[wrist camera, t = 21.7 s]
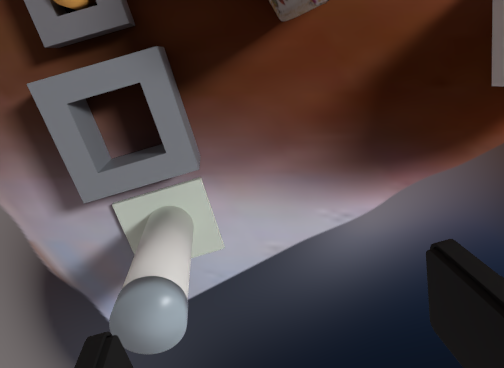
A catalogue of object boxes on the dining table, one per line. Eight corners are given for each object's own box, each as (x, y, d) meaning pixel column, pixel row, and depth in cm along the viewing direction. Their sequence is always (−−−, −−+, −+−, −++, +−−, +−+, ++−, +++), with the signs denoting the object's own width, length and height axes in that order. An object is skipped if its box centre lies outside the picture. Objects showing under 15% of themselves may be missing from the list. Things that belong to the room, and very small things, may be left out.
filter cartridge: (138, 212, 40) (97, 305, 25) (185, 198, 40) (172, 282, 25) (155, 254, 42) (126, 362, 27) (200, 240, 42) (196, 341, 27)
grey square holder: (50, 80, 36) (26, 83, 31) (163, 47, 36) (157, 46, 31) (98, 185, 40) (83, 203, 35) (200, 155, 40) (199, 169, 35)
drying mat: (113, 202, 40) (112, 204, 40) (200, 177, 40) (200, 178, 40) (143, 270, 43) (142, 272, 43) (224, 245, 44) (224, 248, 43)
